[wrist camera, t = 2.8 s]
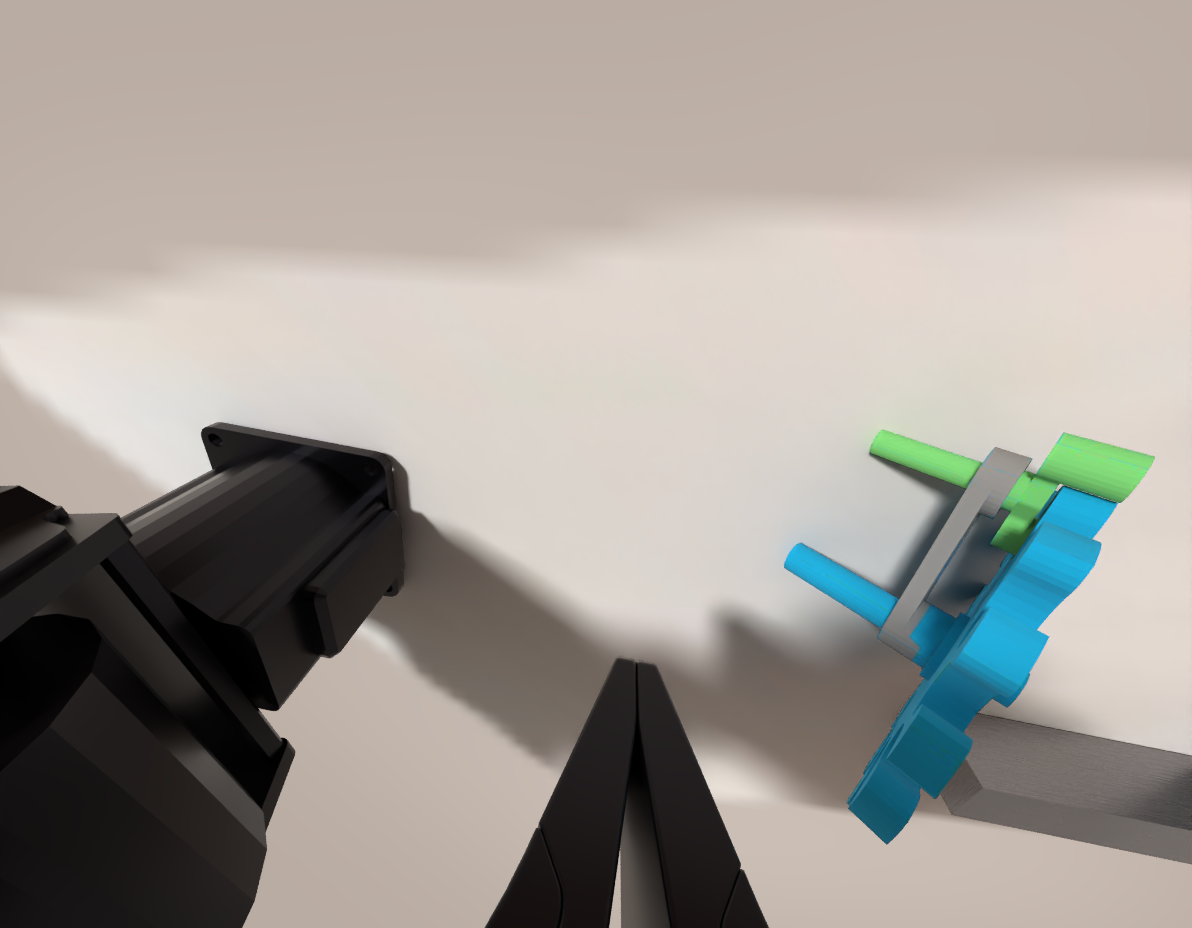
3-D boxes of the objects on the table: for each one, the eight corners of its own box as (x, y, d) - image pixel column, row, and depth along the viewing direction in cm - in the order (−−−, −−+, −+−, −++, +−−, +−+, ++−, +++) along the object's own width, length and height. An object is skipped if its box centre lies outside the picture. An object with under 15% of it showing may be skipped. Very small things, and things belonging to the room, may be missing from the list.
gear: (949, 728, 15) (859, 962, 9) (797, 621, 19) (656, 728, 13) (1161, 452, 11) (1286, 502, 5) (916, 388, 15) (801, 368, 9)
